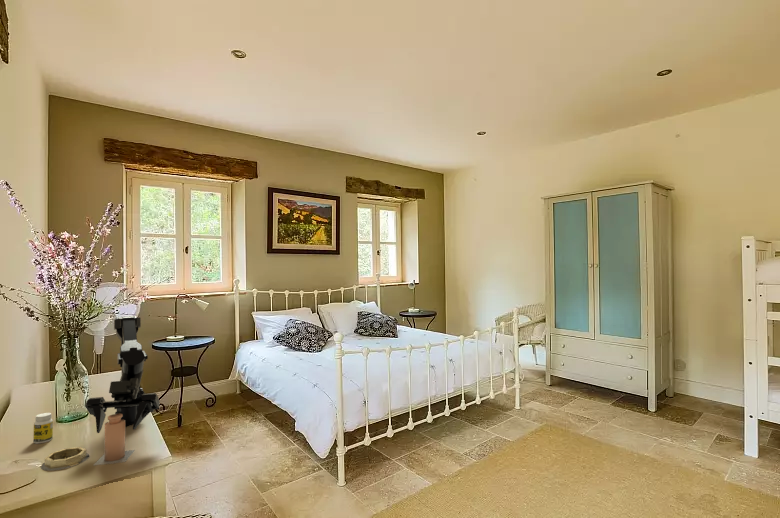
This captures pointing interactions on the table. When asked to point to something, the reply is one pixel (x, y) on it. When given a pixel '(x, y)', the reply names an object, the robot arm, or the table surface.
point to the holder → (65, 458)
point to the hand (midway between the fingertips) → (116, 430)
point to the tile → (124, 459)
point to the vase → (114, 438)
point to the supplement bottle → (43, 428)
